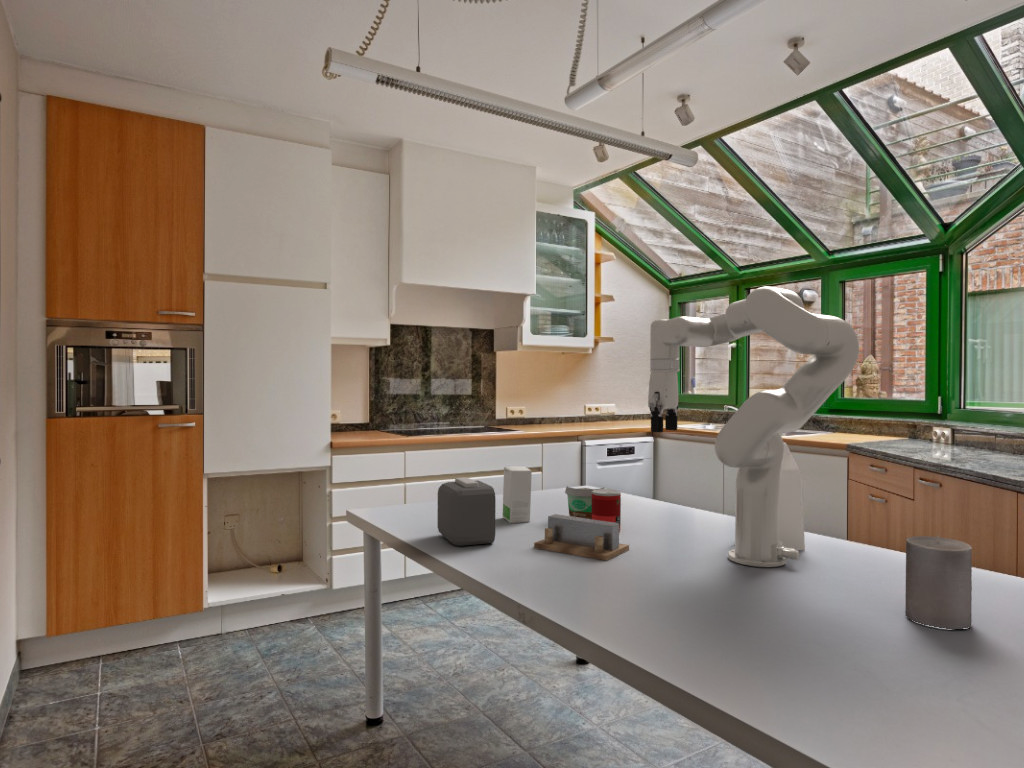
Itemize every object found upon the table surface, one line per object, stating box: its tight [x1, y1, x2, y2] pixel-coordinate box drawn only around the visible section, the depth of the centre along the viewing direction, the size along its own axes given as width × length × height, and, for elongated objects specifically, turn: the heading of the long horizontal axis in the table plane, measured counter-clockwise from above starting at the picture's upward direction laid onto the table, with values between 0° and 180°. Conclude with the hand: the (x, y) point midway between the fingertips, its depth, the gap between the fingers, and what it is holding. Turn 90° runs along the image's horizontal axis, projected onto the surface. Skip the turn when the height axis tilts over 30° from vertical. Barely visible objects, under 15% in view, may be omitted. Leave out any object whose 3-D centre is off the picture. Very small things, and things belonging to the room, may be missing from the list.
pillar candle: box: [904, 534, 973, 629], centre depth 113 cm, size 10×10×15 cm
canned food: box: [592, 488, 622, 533], centre depth 180 cm, size 8×8×11 cm
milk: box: [779, 441, 806, 551], centre depth 167 cm, size 12×12×26 cm
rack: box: [533, 527, 630, 562], centre depth 161 cm, size 20×12×5 cm, turn 55°
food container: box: [564, 485, 605, 519], centre depth 192 cm, size 12×6×10 cm, turn 73°
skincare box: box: [502, 465, 533, 524], centre depth 194 cm, size 8×7×16 cm
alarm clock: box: [437, 476, 497, 547], centre depth 169 cm, size 16×11×16 cm
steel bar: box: [547, 513, 620, 551], centre depth 161 cm, size 18×4×6 cm, turn 55°
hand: (664, 431), depth 173 cm, fingers open, 9 cm apart
